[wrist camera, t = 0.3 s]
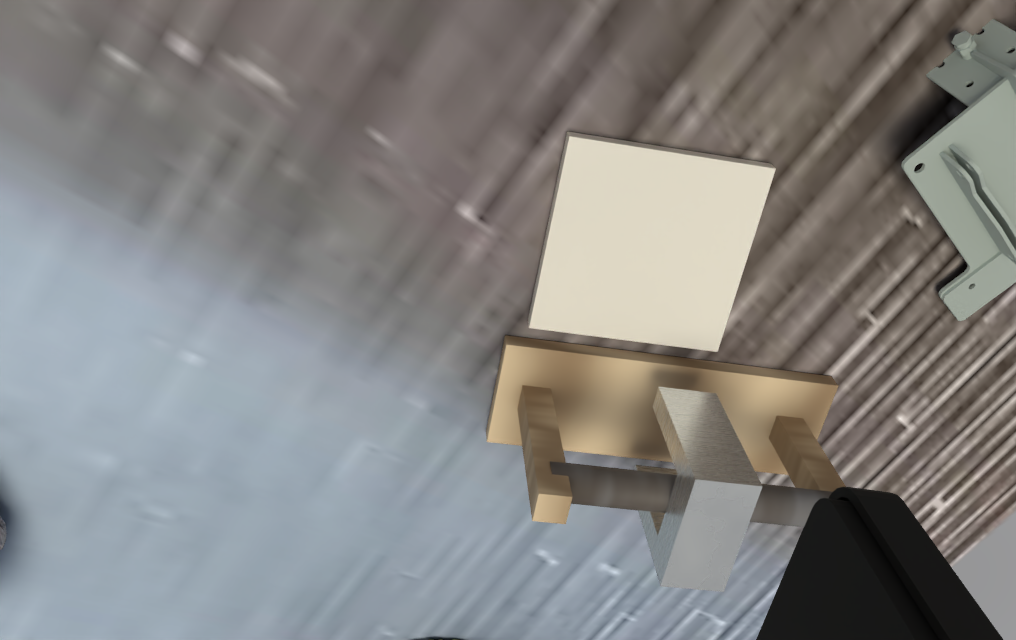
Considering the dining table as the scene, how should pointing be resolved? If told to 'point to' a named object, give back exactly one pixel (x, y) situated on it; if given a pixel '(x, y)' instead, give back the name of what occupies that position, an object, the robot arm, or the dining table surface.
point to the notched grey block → (700, 493)
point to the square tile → (646, 242)
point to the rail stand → (651, 425)
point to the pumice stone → (2, 533)
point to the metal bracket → (975, 166)
